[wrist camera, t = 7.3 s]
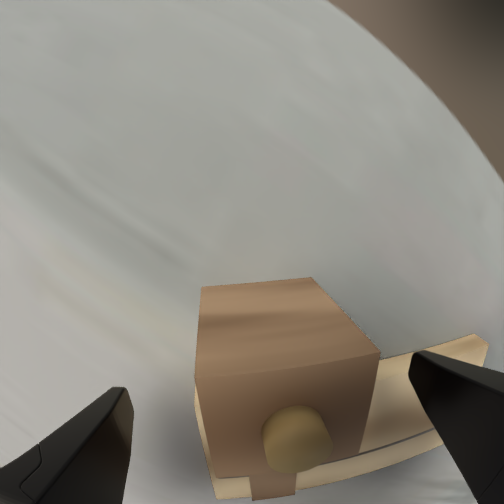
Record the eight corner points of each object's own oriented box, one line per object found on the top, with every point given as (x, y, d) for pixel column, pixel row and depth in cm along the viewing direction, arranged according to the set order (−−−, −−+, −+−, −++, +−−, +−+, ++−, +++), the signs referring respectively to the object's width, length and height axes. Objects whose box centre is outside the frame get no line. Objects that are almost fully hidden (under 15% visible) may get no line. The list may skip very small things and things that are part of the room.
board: (441, 427, 17) (452, 440, 15) (215, 480, 15) (216, 499, 14) (473, 333, 15) (489, 344, 13) (195, 385, 13) (194, 407, 12)
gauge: (302, 453, 15) (336, 550, 9) (226, 463, 15) (238, 566, 8) (311, 277, 13) (400, 373, 6) (201, 286, 12) (192, 406, 5)
